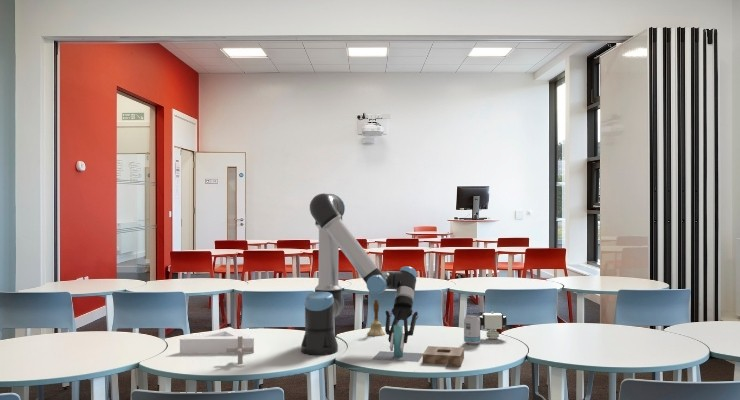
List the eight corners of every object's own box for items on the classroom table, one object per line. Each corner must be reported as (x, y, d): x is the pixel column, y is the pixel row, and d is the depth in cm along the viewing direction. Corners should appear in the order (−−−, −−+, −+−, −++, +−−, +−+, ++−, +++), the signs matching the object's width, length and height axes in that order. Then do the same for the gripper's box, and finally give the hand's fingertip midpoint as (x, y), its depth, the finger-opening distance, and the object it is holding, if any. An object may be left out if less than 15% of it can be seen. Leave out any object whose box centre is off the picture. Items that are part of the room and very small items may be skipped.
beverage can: (483, 344, 271) (483, 316, 271) (469, 345, 268) (469, 317, 268) (474, 341, 277) (474, 313, 277) (461, 342, 274) (460, 314, 275)
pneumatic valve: (506, 339, 280) (506, 312, 280) (480, 339, 281) (479, 312, 281) (504, 337, 286) (504, 310, 286) (478, 336, 286) (478, 310, 286)
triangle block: (179, 354, 258) (179, 339, 258) (196, 341, 283) (196, 327, 284) (253, 354, 258) (253, 338, 258) (263, 340, 284) (263, 326, 284)
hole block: (422, 364, 236) (422, 354, 236) (428, 356, 250) (428, 346, 250) (460, 366, 233) (460, 356, 233) (464, 358, 247) (463, 347, 247)
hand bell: (388, 333, 295) (388, 299, 295) (378, 336, 288) (378, 301, 288) (373, 331, 300) (373, 298, 300) (363, 334, 293) (363, 300, 293)
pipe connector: (228, 360, 245) (228, 334, 246) (255, 359, 246) (254, 333, 246) (224, 366, 235) (224, 339, 236) (252, 366, 236) (251, 339, 236)
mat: (371, 360, 243) (371, 359, 243) (379, 352, 257) (379, 351, 257) (418, 363, 239) (418, 361, 239) (423, 354, 252) (423, 353, 252)
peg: (393, 357, 246) (392, 326, 246) (394, 355, 250) (394, 324, 250) (401, 357, 246) (401, 326, 246) (403, 355, 249) (403, 324, 249)
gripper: (425, 306, 261) (418, 355, 245) (385, 304, 265) (377, 353, 248) (422, 294, 256) (416, 344, 239) (382, 293, 260) (373, 342, 243)
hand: (396, 349), depth 244 cm, fingers closed on peg, 3 cm apart
